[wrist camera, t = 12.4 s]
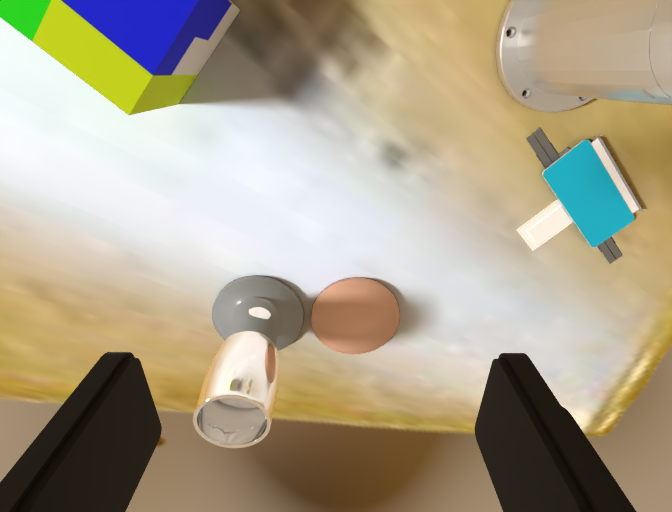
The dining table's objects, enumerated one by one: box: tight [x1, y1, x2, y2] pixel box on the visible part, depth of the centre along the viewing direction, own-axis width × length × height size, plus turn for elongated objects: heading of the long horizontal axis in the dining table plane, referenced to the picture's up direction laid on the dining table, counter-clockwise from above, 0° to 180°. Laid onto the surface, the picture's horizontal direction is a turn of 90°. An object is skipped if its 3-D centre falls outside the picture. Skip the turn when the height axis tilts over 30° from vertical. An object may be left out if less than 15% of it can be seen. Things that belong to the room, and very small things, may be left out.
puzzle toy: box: [0, 0, 240, 115], centre depth 27 cm, size 10×10×10 cm
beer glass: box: [193, 297, 284, 448], centre depth 38 cm, size 7×7×15 cm
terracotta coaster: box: [311, 277, 400, 354], centre depth 46 cm, size 11×11×1 cm
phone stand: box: [517, 128, 643, 263], centre depth 40 cm, size 20×12×2 cm, turn 43°
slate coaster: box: [212, 276, 304, 351], centre depth 45 cm, size 11×11×1 cm
